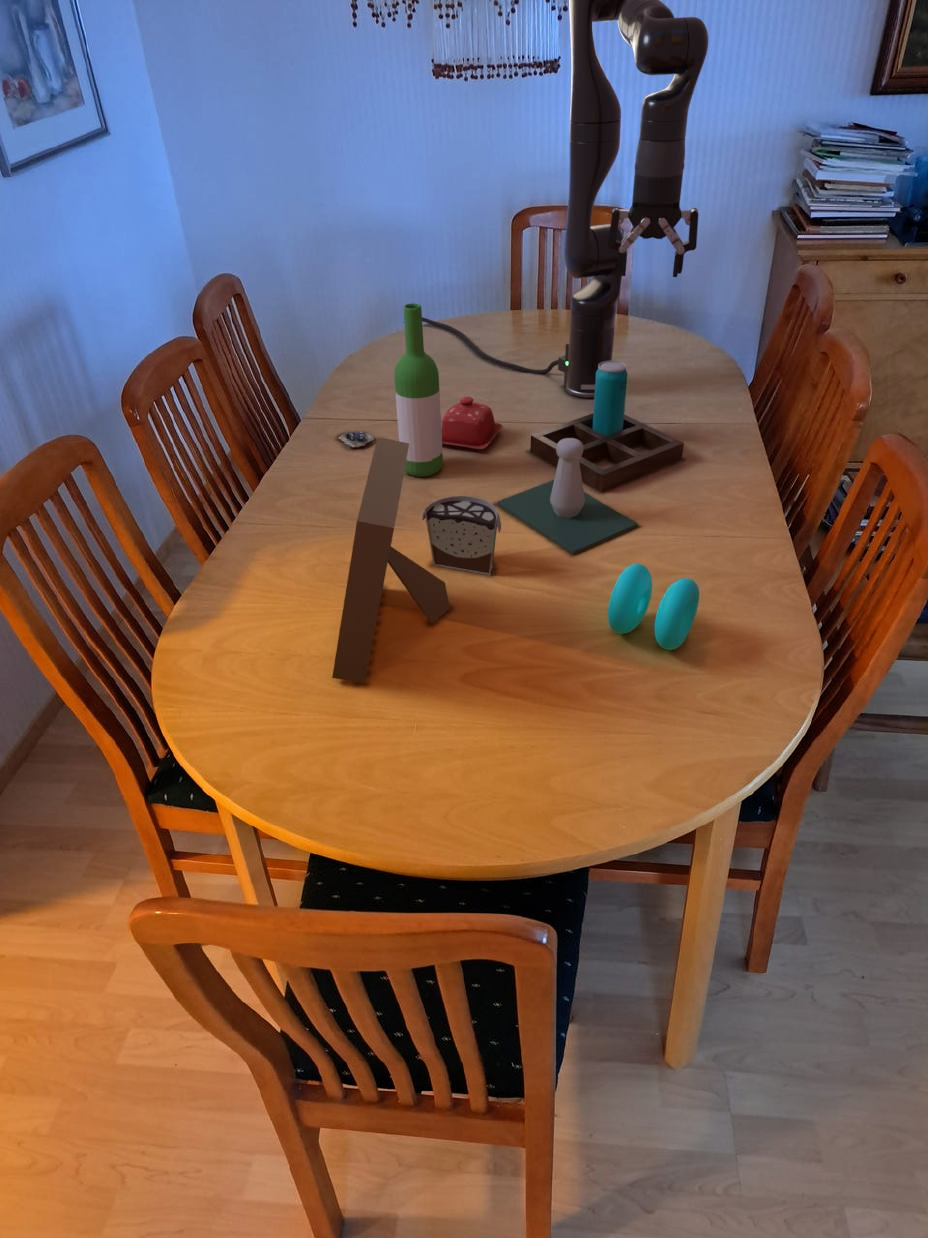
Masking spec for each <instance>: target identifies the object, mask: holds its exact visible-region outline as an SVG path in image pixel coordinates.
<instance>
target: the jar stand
mask: <svg viewBox="0 0 928 1238" xmlns="http://www.w3.org/2000/svg"><path fill="white" fill-rule="evenodd" d="M593 413H594V412H593ZM593 413H592V412H591V413H589V414H587V415H583V416H581V417H578V418H576V419H573V420H569V421H567V422H564V423H561V424H558V425H556V426H552V427H550V428H547V429H543V430H541V431H539V432H536V433H533V434H531V435H530V453H531V454H533V455H535V456H537V457H539V458H540V459H541V460H544V461H545V462H547V463H549V464H551V465H553V466H554V467H556V468H557V466H558V461H559V456H558V455H557V452H556V447H557V444H558V442H559V441H560V440H562V439H565V438H574V439H578V440H579V441H581V442H582V444H583V453H582V456H581V457H580V458H579V464H580V471H581V477H582V483H584V484H585V485H587V486H589V487H591V488H593V489H594V490H596V491H598V492H600V493H604V492H607V491H609V490H613V489H614V488H617V487H619V486H621V485H624V484H626V483H629V482H631V481H634V480H636V479H639V478H642V477H644V476H646V475H648V474H651V473H653V472H656V471H658V470H660V469H661V470H662V469H664V468H666V467H668V466H671V465H673V464H676V463H678V462H681V461H682V460H683V455H684V450H685V449H684V447H685V442H684V441H681V440H679V439H677V438H675V437H673V436H671V435H669V434H667V433H664V432H663V431H660V430H659V429H656V428H654V427H652V426H650V425H648V424H645V423H644V422H642V421H639V420H637V419H635V418H633V417H631V416H628V415H626V414H625V413H624V420H623V431H620V432H617V433H614V434H612V435H609V436H605V435H603V434H601V433H599V432H597V431H595V430H593V429H592V428H593ZM638 446H643V448H647V449H648V450H649V451H646V452H644V453H641V452H639V451H636V450H634V449H633V448H636V447H638ZM602 460H607V461H609V462H611V463H613V464H612V465H610V466H608V467H606V468H603V467H601V466H599V465H597V464H595V463H598V462H600V461H602Z"/></svg>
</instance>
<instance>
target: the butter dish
mask: <svg viewBox="0 0 928 1238" xmlns="http://www.w3.org/2000/svg"><path fill="white" fill-rule="evenodd" d="M495 421H496V420H495V417H494V413H493V410H492V408H491V407H490V406H488V405H487V404H483V403H479V402H474V398H473V397H471V396H462V397H461V398H460V399H459V402H457V403H454V404H453V405H452V406H451V407H449V408H448V409H447V410H446V412H445V413H444V415H443V417H442V419H441V432H442V445H448V446H454V447H455V446H456V447H463V448H469V449H473V450H474V449H475V450H484V449H486V448H487V447H488V446H489V445H490V444H491V442H492V441H494V439H495V437H496V436H497V435H498V434H499V433H500V432H501V430H502V428H503V424H502V423H499V422H495Z"/></svg>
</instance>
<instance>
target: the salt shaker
mask: <svg viewBox="0 0 928 1238" xmlns="http://www.w3.org/2000/svg"><path fill="white" fill-rule="evenodd" d="M556 452H557V455H558V456H559V461H558V466H557V467H556V471H555V474H554V479H553V480H554V483H553V488H552V492H551V497H550V502H551V505H552V507H553V510H554V512H555V513H556V514H557V515H558V516H559V517H563V518H572V517H574V516H577V515H578V514H579V512H580V511H581V509H582V507H583V505H584V502H585V496H584V493H585V489H584V484H583V483H584V482H582V477H581V471H580V464H579V458H580V457H581V456H582V453H583V444H582V442H581V441H579V440H578V439H574V438H565V439H562V440H560V441H559V442H558V444H557V447H556Z"/></svg>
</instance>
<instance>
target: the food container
mask: <svg viewBox="0 0 928 1238" xmlns="http://www.w3.org/2000/svg"><path fill="white" fill-rule="evenodd" d="M421 520H422V521H425V523H426V528H427V534H428V540H429V541H428V542H429V546H430V551H431V553H430V554H431V557H432V565H433V566H434V567H441V568H446V569H452V570H457V571H464V572H470V573H473V574H474V573H476V574H480V575H486V576H491V575H492V572H493V566H494V558H495V557H494V556H495V548H496V539H497V531H498V533H501V530H502V522H501V516H500V514H499V512H498V510H497V508H496V507H495V506H494V504H492V503H491V502H490V501H487V500H485V499H483V498H480V497H474V496H469V495H454V496H447V497H443V498H440V499H437V500H435V501H432V502H431V503H430V504H428V505H427V506H426V507H425V508H424V511H423V512H422V519H421Z"/></svg>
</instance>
